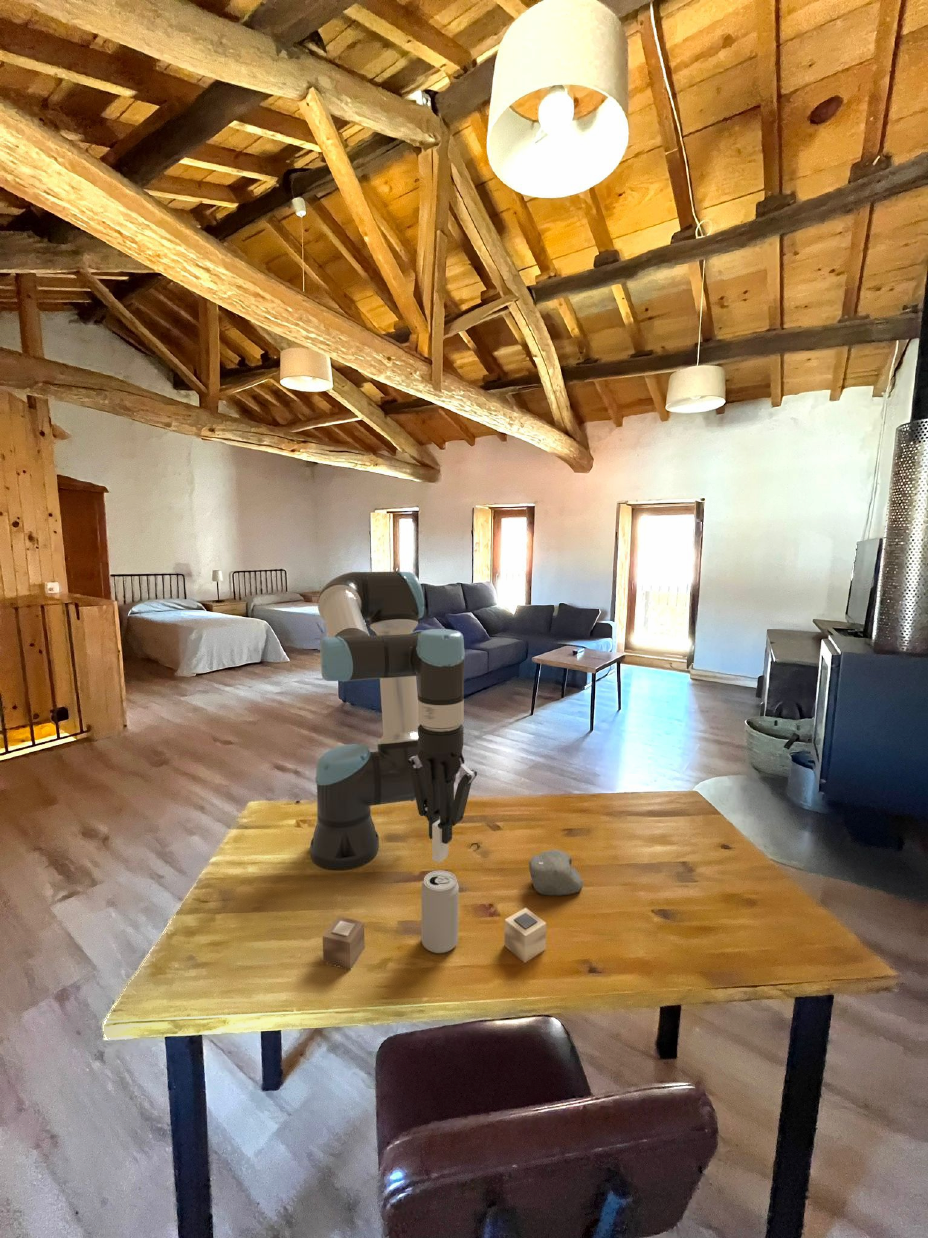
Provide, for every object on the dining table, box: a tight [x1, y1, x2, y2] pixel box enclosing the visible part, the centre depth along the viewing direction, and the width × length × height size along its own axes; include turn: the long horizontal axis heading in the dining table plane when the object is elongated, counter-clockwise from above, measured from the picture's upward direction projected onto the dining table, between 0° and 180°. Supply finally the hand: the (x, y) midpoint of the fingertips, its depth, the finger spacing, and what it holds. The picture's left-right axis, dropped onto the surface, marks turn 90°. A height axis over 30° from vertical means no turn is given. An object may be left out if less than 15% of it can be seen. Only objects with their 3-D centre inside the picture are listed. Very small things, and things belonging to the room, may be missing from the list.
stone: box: [528, 849, 585, 897], centre depth 110 cm, size 9×9×10 cm
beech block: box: [503, 907, 547, 964], centre depth 93 cm, size 5×5×5 cm
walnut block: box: [322, 916, 366, 971], centre depth 91 cm, size 5×5×5 cm
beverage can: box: [420, 869, 460, 954], centre depth 93 cm, size 6×6×12 cm
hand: (440, 857), depth 92 cm, fingers closed
